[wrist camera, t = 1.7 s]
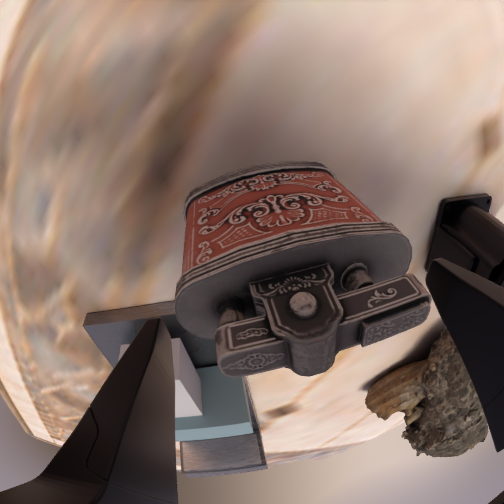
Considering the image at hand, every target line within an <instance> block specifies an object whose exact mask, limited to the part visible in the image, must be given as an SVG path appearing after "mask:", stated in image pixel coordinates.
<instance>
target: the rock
mask: <svg viewBox="0 0 504 504" xmlns="http://www.w3.org/2000/svg"><path fill="white" fill-rule="evenodd" d="M365 400H366V402H365V404H366V405H367V408H368V409H370V410H371V411H372V413H376V414H377V416H378V418H382V419H384V420H387V419H388V418H389V416H390V415H392V414H393V413H395V412H398V411H400V412H404V413H405V417H404V420H405V422H406V425H407V426H406V431H404V432H403V434H402V437H404V439H408V440H409V443H410V444H411V446H412V448H413V449H416V451H417V456H419V455H420V454H421V453H425V454H426V455H427V456H428V455H430V456H432V457H452V456H459V455H461V454H463V453H465V452H466V451H467V450H468V449H472V448H474V446H475V445H476V444H477V443H479V442H484V440H485V438H486V436H487V433H488V425H487V420H486V417H485V414H484V412H483V408H482V406H481V403H480V401H479V398H478V395H477V393H476V390H475V388H474V386H473V383H472V381H471V379H470V376H469V374H468V372H467V369H466V367H465V365H464V363H463V361H462V358H461V356H460V354H459V352H458V350H457V348H456V346H455V344H454V342H453V340H452V338H451V336H450V334H449V332H448V330H447V329H444V330H442V331H441V337H439V338H438V339H436V340H435V341H434V343H433V345H432V347H431V351H430V354H429V356H428V358H427V359H425V360H422V361H420V362H414V363H408V364H406V365H404V366H402V367H400V368H397V369H395V370H394V371H392V372H390V373H388V374H386V375H385V376H383V377H382V378H381V379H379V380H378V381H377V382H375V383H374V384H373V385H372V386H371V387H370V389H369V391H368V394H367V397H366V399H365Z"/></svg>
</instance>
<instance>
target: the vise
mask: <svg viewBox="0 0 504 504" xmlns="http://www.w3.org/2000/svg"><path fill="white" fill-rule="evenodd" d="M174 306H175V301H170V302H163V303H157V304H151V305H144V306H138V307H131V308H124V309H117V310H110V311H103V312H95V313H88V314H87V315H86V318H85V321H84V324H83V327H84V329H85V330H86V331H87V333H88V334H89V336H90V337H91V339H92V340H93V341H94V343H95V344H96V345H97V347H98V348H99V350H100V351H101V352H102V354H103V355H104V356H105V357H106V359H107V360H108V361H109V363H110V364H111V365H112V366H113V368H114V367H115V366H116V364H117V363H118V360H119V354H120V348H121V345H124V344H131V342H132V341H133V339H134V338H135V336H136V335H137V333H138V332H139V331H140V329H141V328H142V326H143V325H144V323H145V322H146V321H147V320H148V319H149V318H156V317H160V318H162V319H163V321H164V323H165V325H166V328H167V330H168V332H169V334H170V336H171V339H175V338H180V339H181V341H182V343H183V345H184V347H185V349H186V351H187V353H188V355H189V358H190V360H191V362H192V364H193V366H194V368H195V369H199V368H206V367H213V366H218V363H217V353H216V342H215V339H205V338H202V337H199V336H196V335H193V334H192V333H190V332H189V331H187V330H186V329H184V328H183V326H182V325H181V324H180V323H179V321H178V320H177V317H176V314H175V310H174ZM243 377H244V382H245V388H246V394H247V399H248V405H249V411H250V416H251V422H252V427H253V433H250V434H244V435H237V436H230V437H222V438H213V439H203V440H191V441H180V455H181V471H182V474H183V475H185V476H187V477H203V476H216V475H227V474H235V473H244V472H250V471H257V470H263V469H268V466H267V462H266V457H265V452H264V447H263V442H262V435H261V431H260V427H259V424H258V420H257V417H256V414H255V410H254V407H253V403H252V400H251V396H250V393H249V389H248V386H247V382H246V378H245V376H243Z"/></svg>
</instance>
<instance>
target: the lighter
mask: <svg viewBox="0 0 504 504" xmlns="http://www.w3.org/2000/svg"><path fill="white" fill-rule="evenodd" d="M184 219H185V223H186V231H185V242H184V254H183V267H182V276H181V278H180V279H179V281H178V282H177V286H176V293H175V306H174V310H175V314H176V317H177V320H178V321H179V323H180V324H181V325H182V326H183V328H184V329H186V330H187V331H189V332H190V333H192V334H193V335H196V336H199V337H202V338H205V339H215V342H216V353H217V363H218V367H219V369H220V371H221V372H222V373H223V375H225V376H227V377H234V378H236V377H243V376H248V375H253V374H257V373H262V372H266V371H270V370H274V369H278V368H282V367H285V368H289V369H291V370H292V371H293V372H295V373H296V374H298V375H300V376H313V375H316V374H320V373H323V372H326V371H327V370H328V369H329V368H330V367H332V365H333V363H334V360H335V356H336V354H337V353H338V352H339V351H341V350H344V349H347V348H350V347H353V346H356V345H359V344H361V346H362V347H365V346H367V345H370V344H373V343H376V342H378V341H381V340H384V339H386V338H389V337H391V336H394V335H396V334H399V333H401V332H404V331H406V330H409V329H411V328H413V327H416V326H418V325H420V324H422V323H423V322H424V321H425V320H426V319H427V317H428V314H429V311H430V303H431V296H430V294H429V293H428V292H427V290H426V289H425V288H424V287H423V286H422V284H421V283H420V282H419V281H418V280H417V278H416V277H415V276H414V275H413V274H410V273H409V274H406V272H407V270H408V268H409V265H410V262H411V259H412V247H411V244H410V241H409V239H408V238H407V237H406V236H405V235H403V234H402V233H401V232H400V231H399V230H398V229H397V228H396V227H395V226H394V225H393V224H392V223H388V222H384V221H381V220H380V219H379V218H378V217H377V216H376V215H375V214H374V213H373V212H372V211H371V210H370V209H369V208H367V207H366V206H365V205H364V204H363V203H362V202H361V201H360V200H359V199H357V198H356V197H355V196H354V195H353V194H352V193H351V192H350V191H348V190H347V189H346V188H345V187H344V186H343V185H341V184H340V183H339V182H338V181H337V179H336V177H335V175H334V174H333V172H331V171H330V170H329V169H328V168H326V167H325V166H324V165H322V164H321V163H317V162H280V163H272V164H265V165H258V166H253V167H249V168H246V169H243V170H239V171H236V172H233V173H229V174H226V175H223V176H221V177H219V178H216V179H214V180H212V181H210V182H208V183H205V184H203V185H201V186H199V187H197V188H195V189H194V190H192V191H191V192H190V193H189V195H188V196H187V198H186V202H185V207H184Z"/></svg>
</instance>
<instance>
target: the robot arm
mask: <svg viewBox="0 0 504 504" xmlns="http://www.w3.org/2000/svg"><path fill="white" fill-rule="evenodd" d="M491 200H492V198H491V196H489V195H488V194H482V195H473V196H465V197H457V198H450V199H445V200H443V201H442V203H441V205H440V210H439V215H438V219H437V224H436V229H435V233H434V237H433V241H432V245H431V249H430V253H429V257H428V260H427V264H426V267H425V270H426V272H427V275H426V285H427V287H428V290H429V292H430V294H431V296H432V298H433V300H434V303H435V305H436V307H437V309H438V312H439V314H440V316H441V319H442V321H443V323H444V324H445V326H446V328H447V330H448V332H449V334H450V336H451V338H452V340H453V342H454V344H455V346H456V348H457V350H458V352H459V354H460V356H461V358H462V361H463V363H464V365H465V367H466V369H467V372H468V374H469V376H470V379H471V381H472V383H473V386H474V388H475V390H476V393H477V395H478V398H479V401H480V403H481V406H482V408H483V412H484V414H485V417H486V420H487V423H488V426H489V429H490V432H491V435H492V439H493V442H494V445H495V449H496V451H497V452H499V451H501V450H502V449H504V224H503V223H502V222H500V221H499V220H498V219H497V218H495V217H494V216H493V215H491V214H490V213H489V209H490V205H491ZM0 504H178V492H177V475H176V447H175V377H174V366H173V354H172V342H171V336H170V334H169V332H168V330H167V328H166V325H165V323H164V321H163V319H162V318H160V317H156V318H149V319H148V320H147V321H146V322H145V323H144V325H143V326H142V328H141V329H140V331H139V332H138V333H137V335H136V336H135V338H134V339H133V341H132V342H131V344H130V345H129V347H128V348H127V349H126V351H125V352H124V354H123V355H122V357H121V358H120V360H119V361H118V363H117V364H116V366H115V367H114V369H113V370H112V372H111V373H110V375H109V376H108V378H107V379H106V381H105V383H104V384H103V386H102V387H101V389H100V390H99V392H98V393H97V395H96V397H95V398H94V400H93V401H92V403H91V404H90V407H89V408H88V409H87V411H86V412H85V414H84V415H83V417H82V419H81V420H80V422H79V423H78V425H77V426H76V428H75V429H74V431H73V432H72V433H71V435H70V436H69V438H68V439H67V440H66V442H65V443H64V444H63V446H62V447H61V448H60V450H59V451H58V452H57V454H56V455H55V456H54V458H53V459H52V461H51V462H50V463H49V464H48V466H47V467H46V468H45V470H44V471H43V472H42V473H41V474H40V475H39V476H37V477H36V478H35V479H33V480H31V481H29V482H27V483H24V484H21V485H19V486H16V487H13V488H10V489H8V490H5V491H2V492H0ZM488 504H504V491H503V492H502V493H500V494H499V495H498V496H497V497H496V498H494V499H493V500H492V501H491V502H490V503H488Z"/></svg>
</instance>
